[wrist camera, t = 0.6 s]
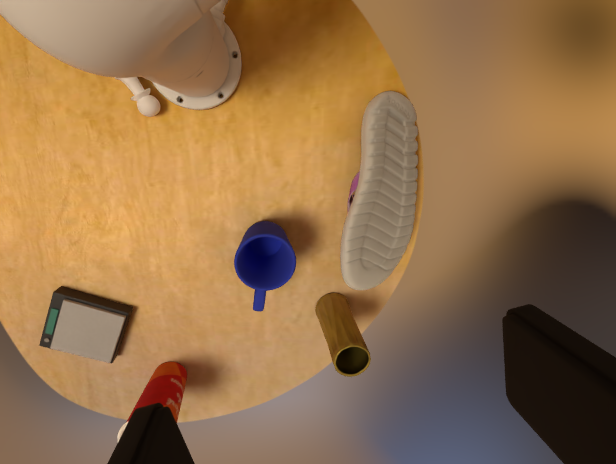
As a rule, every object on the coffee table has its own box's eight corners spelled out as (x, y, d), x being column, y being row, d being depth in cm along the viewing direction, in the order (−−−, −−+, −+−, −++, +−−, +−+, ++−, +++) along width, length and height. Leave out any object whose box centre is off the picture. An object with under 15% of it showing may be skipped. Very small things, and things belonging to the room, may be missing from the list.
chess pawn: (80, 60, 40) (132, 128, 44) (103, 41, 37) (155, 114, 42) (110, 52, 43) (155, 115, 48) (133, 33, 41) (178, 102, 45)
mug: (234, 281, 55) (227, 313, 45) (242, 211, 51) (237, 230, 42) (283, 286, 56) (286, 318, 47) (294, 218, 53) (300, 238, 43)
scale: (61, 285, 51) (50, 293, 49) (133, 306, 54) (127, 315, 51) (47, 338, 53) (36, 348, 51) (117, 355, 56) (110, 366, 54)
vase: (319, 290, 57) (336, 340, 44) (352, 294, 58) (379, 344, 45) (312, 320, 59) (326, 377, 45) (344, 324, 60) (367, 381, 46)
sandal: (415, 286, 51) (386, 274, 58) (425, 92, 47) (393, 103, 53) (345, 297, 46) (322, 283, 52) (349, 80, 42) (323, 94, 48)
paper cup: (190, 394, 60) (168, 469, 47) (145, 389, 59) (111, 465, 45) (196, 358, 58) (176, 426, 45) (151, 353, 57) (116, 421, 43)
